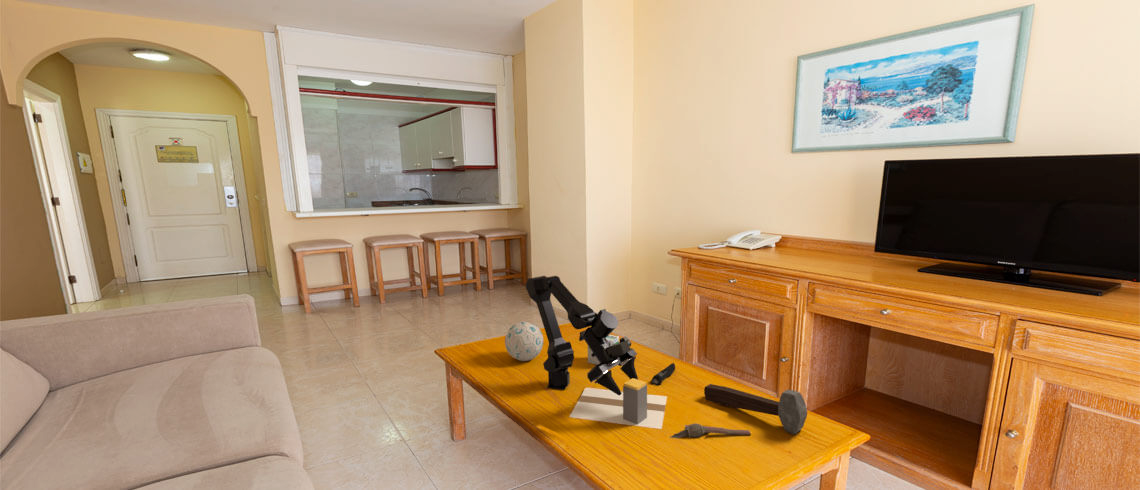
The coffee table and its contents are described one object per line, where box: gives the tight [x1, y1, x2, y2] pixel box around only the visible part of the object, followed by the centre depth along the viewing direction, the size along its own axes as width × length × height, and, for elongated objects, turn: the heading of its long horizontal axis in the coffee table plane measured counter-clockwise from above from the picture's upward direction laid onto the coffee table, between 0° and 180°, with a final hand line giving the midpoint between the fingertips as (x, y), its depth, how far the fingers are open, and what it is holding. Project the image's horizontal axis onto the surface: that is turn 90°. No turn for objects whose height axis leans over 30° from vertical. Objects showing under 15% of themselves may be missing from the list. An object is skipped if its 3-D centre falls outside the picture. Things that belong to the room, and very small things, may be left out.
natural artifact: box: [669, 423, 752, 439], centre depth 127 cm, size 4×23×4 cm
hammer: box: [703, 383, 808, 435], centre depth 138 cm, size 5×11×30 cm
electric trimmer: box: [650, 362, 676, 387], centre depth 165 cm, size 4×16×3 cm, turn 144°
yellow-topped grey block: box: [622, 378, 648, 425], centre depth 135 cm, size 5×5×11 cm
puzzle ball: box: [504, 321, 544, 362], centre depth 183 cm, size 15×15×15 cm
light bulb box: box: [587, 334, 620, 366], centre depth 178 cm, size 11×7×11 cm, turn 58°
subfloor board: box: [568, 387, 668, 430], centre depth 143 cm, size 27×20×1 cm
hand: (629, 389), depth 136 cm, fingers open, 9 cm apart
